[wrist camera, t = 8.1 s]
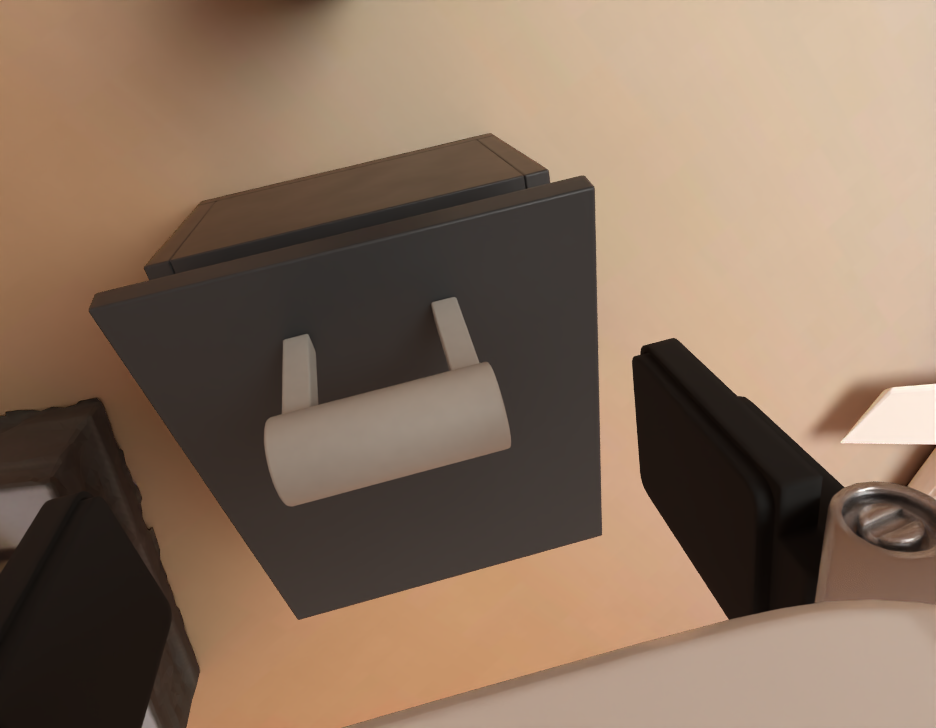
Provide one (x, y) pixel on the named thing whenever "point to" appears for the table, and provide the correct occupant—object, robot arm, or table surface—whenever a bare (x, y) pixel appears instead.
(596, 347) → the door
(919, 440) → the airplane model
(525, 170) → the dark grey box
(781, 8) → the table surface
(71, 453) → the bible
